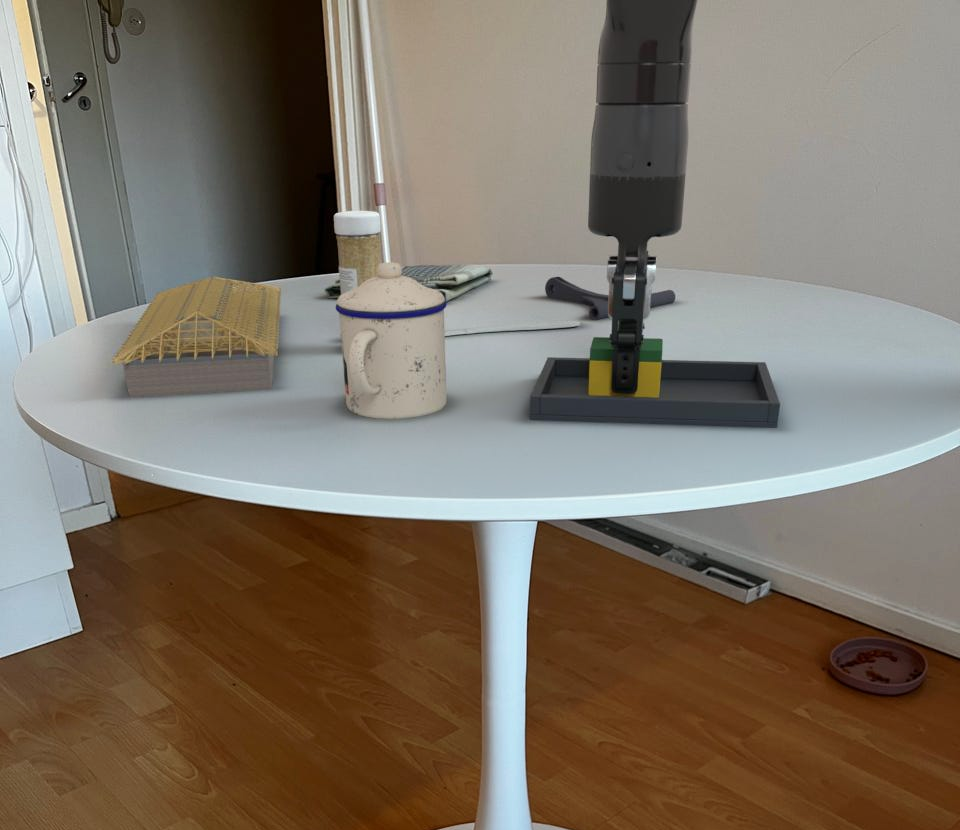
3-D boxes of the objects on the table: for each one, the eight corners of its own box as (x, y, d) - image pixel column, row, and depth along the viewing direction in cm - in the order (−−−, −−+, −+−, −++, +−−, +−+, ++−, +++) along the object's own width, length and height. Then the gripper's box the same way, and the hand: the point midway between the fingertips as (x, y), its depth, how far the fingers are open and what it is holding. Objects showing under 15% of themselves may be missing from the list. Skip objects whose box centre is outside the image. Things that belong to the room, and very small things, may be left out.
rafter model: (281, 392, 91) (273, 323, 88) (117, 402, 89) (104, 331, 86) (284, 317, 122) (278, 264, 119) (162, 323, 120) (153, 269, 117)
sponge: (659, 384, 89) (662, 338, 87) (658, 398, 85) (662, 350, 83) (591, 382, 90) (593, 336, 88) (588, 395, 86) (590, 348, 84)
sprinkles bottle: (391, 353, 104) (383, 213, 98) (348, 356, 103) (337, 215, 97) (383, 343, 108) (374, 208, 102) (341, 347, 107) (330, 210, 101)
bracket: (585, 290, 135) (585, 268, 133) (675, 304, 125) (676, 280, 124) (509, 306, 126) (508, 283, 125) (599, 322, 117) (600, 297, 115)
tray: (762, 385, 91) (765, 362, 90) (776, 430, 79) (780, 403, 78) (547, 379, 94) (547, 357, 93) (529, 421, 82) (530, 396, 81)
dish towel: (378, 277, 147) (376, 254, 145) (495, 282, 142) (494, 258, 140) (321, 300, 131) (319, 274, 130) (450, 306, 126) (450, 279, 125)
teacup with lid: (371, 389, 92) (362, 253, 86) (464, 397, 89) (461, 257, 83) (308, 426, 82) (293, 276, 76) (410, 436, 79) (402, 281, 74)
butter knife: (584, 324, 112) (576, 317, 115) (342, 343, 107) (339, 335, 110) (584, 329, 112) (576, 322, 115) (343, 348, 108) (340, 340, 110)
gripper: (687, 175, 73) (668, 409, 81) (684, 163, 85) (668, 366, 93) (583, 175, 74) (575, 406, 82) (595, 163, 86) (587, 364, 94)
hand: (625, 383), depth 87 cm, fingers closed on sponge, 4 cm apart
